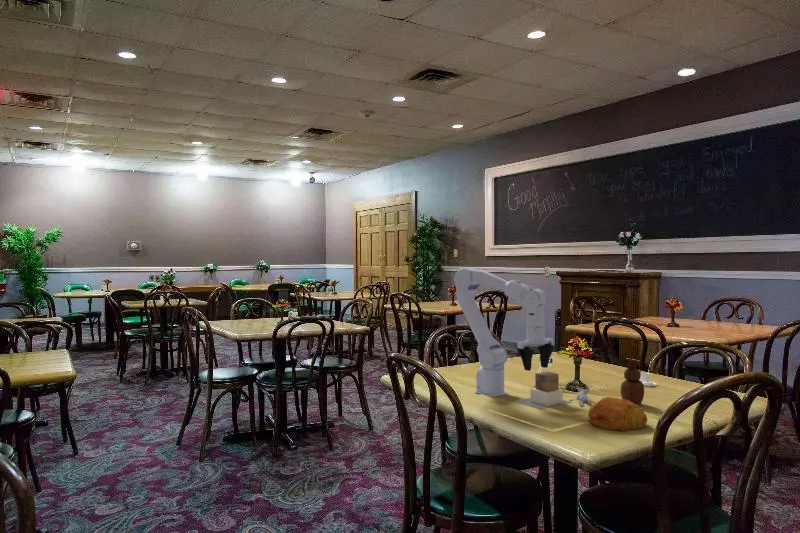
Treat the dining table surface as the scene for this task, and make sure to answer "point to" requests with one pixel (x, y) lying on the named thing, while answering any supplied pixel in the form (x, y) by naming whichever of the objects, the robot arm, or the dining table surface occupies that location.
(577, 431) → the dining table surface
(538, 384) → the walnut cube
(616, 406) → the croissant
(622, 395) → the wooden figurine
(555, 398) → the cream block
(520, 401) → the slate board
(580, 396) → the soldier figure
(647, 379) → the teacup and saucer
